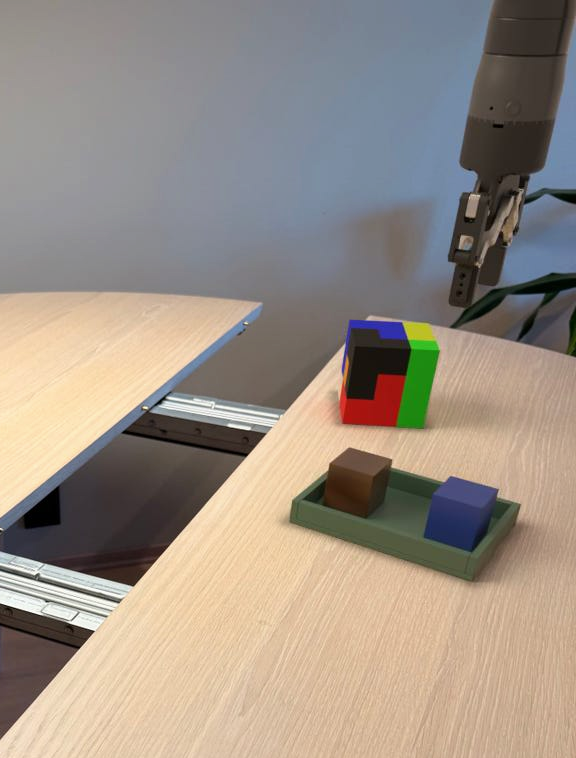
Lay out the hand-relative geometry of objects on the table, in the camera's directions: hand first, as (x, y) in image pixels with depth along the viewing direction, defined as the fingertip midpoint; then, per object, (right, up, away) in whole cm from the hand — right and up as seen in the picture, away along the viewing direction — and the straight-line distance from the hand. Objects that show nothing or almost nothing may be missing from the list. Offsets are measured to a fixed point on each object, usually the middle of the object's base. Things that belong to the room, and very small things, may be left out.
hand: (473, 295), depth 97 cm
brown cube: (-10, -19, +9) cm, 23 cm away
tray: (-5, -22, +6) cm, 23 cm away
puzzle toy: (-1, -4, +31) cm, 31 cm away
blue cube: (-1, -23, +3) cm, 24 cm away
